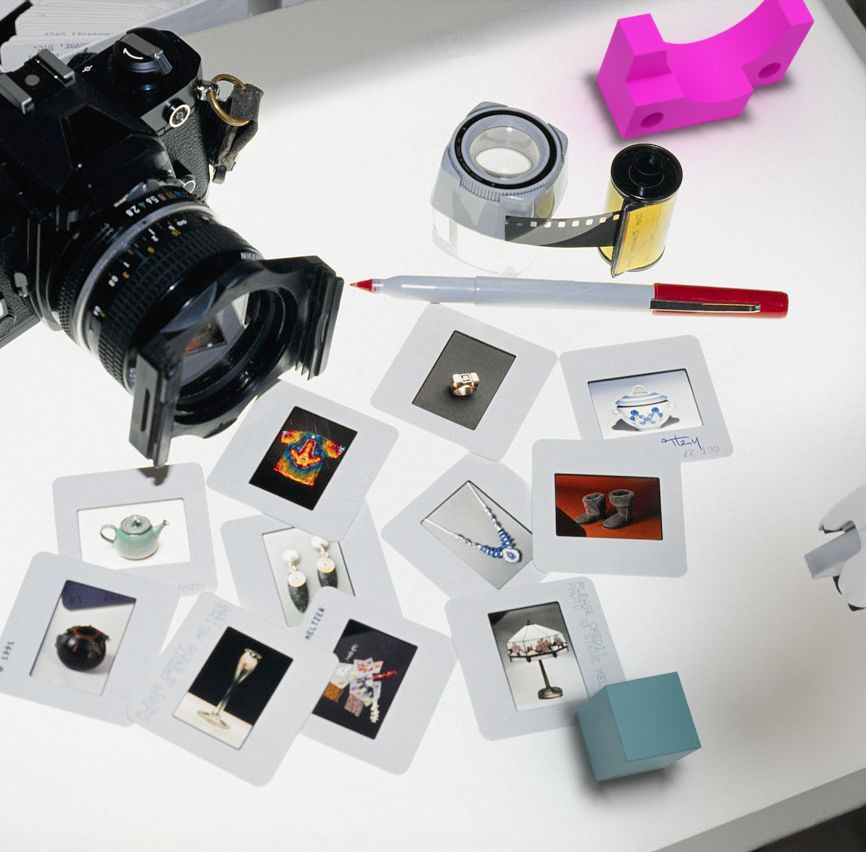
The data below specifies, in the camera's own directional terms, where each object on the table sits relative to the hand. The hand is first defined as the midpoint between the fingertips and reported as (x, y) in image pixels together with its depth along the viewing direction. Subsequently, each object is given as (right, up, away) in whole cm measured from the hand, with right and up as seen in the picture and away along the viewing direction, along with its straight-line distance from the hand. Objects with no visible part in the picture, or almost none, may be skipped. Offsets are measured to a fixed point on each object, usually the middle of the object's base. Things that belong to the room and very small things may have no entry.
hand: (854, 582), depth 69 cm
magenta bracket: (+2, +36, +33) cm, 49 cm away
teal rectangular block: (-10, -12, +11) cm, 19 cm away
